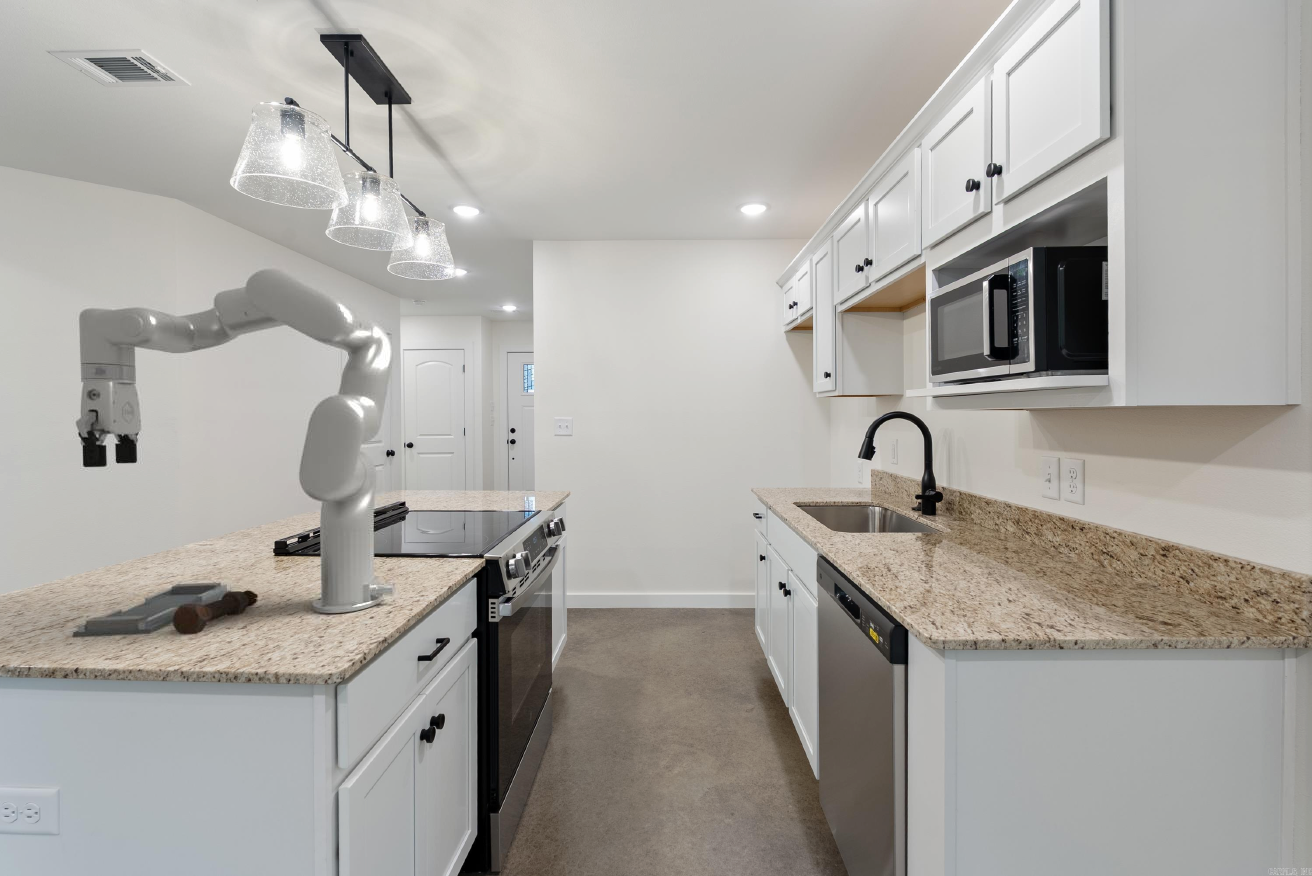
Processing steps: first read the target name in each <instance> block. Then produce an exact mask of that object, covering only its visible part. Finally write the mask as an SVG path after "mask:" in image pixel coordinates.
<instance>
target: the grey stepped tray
mask: <svg viewBox="0 0 1312 876" xmlns="http://www.w3.org/2000/svg"><path fill="white" fill-rule="evenodd" d="M231 591H232V590H228V589H227V591H224V592H222V593H220V594H218V595H216V596H214V597H212V598H210V599H208V600H205V601H203V602H197V596H199V595H201V594H187V595H171V596H168V597H166V598H164V599H161V600H159V601H157V602H154V603H152V604H145V602H143V603H139V605H136V606H133V607H131V608H128V609H126V610H124V611H123V610H122V616H141V615H147V617H148V618H150V617H152V616H154V615H157V614H159V613H161V612H163V611H165V610H168V609H170V608H177V609H178V608H179V607H180V606H181V605H184V604H202V606H203V605H206V604H209V603H212V602H214V601H217V600H220V599H221V598H222V597H223V596H224V594H225V593H227V592H231ZM171 624H173V616H172V617H170V618H167V619H165V620H163V621H161V622H159V623H157V624H155V625H153V626H151V627H149V628H146V629H126V630H103V631H85V632H78V629H77V630H75V631H73V632H72V637H73V638H80V637H99V636H102V637H103V636H122V635H125V636H126V635H143V634H144V635H146V634H152V633H155V632H156V631H158V630H160V629H162V628H164V627H166V626H169V625H171Z"/></svg>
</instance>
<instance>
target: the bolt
mask: <svg viewBox="0 0 1312 876" xmlns="http://www.w3.org/2000/svg"><path fill="white" fill-rule="evenodd" d="M258 597H259V595H258V593H255V592H254V591H252V590H245V591H241V590H233V591H232V590H231V592H227V593H225V594H224V596H223V597H222V598H221V599H220V600H217V601H214V602H212V603H209V604H206V605H203V606H202V604H184V605H181V606H180V607H179V608H178V609H177V610H176V612H175V613H174V615H173V623H172V626H173V628H174V629H175V630H176V632H177V633H178V634H181V635H197V634H199V633H201V632H203V630H204V628H205V627H206V625H207V623H210V622H212V621H214V620H217V619H220V618H222V617H223V618H224V617H225V616H239V615H242V614H244V612H245V611H246V610H247V608H249V607H252V606H254V605H255V604H256V603H257V602H258Z"/></svg>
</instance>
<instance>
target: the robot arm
mask: <svg viewBox="0 0 1312 876" xmlns="http://www.w3.org/2000/svg"><path fill="white" fill-rule="evenodd" d="M78 318H79V319H78V323H79V324H78V325H79V355H80V357H79V358H80V359H79V360H80V383H82V388H81V389H82V390H81V396H80V397H81V398H80V418H79V419H77V420H76V422H75V426H76V428H77V431H78V433H77V434H78V437H79V438H80V445H81V446H82V466H83V467H84V468H104V467H107V463H108V461H107V460H108V459H107V444H104V443H105V441H106V439H107V437H108V435H113V436H114V437H115V439H116V443H114V445H115V446H114V448H115V449H114V450H115V463H116V464H136V463H137V462H138V448H137V447H138V442H139V440H138V439H139V438H138V435H140V432H141V431H142V424H141V423H142V422H141V409H140V402H139V396H138V391H137V387H136V383H137V373H136V348H140V349H145V350H151V351H159V352H165V353H170V354H185V353H186V354H187V353H191V352H197V351H201V350H207V349H210V348H214V347H219V346H223V345H224V344H226V343H229V342H231V341H232V340H235V339H236V338H238V337H239V336H242V335H246V334H250V333H255V332H260V331H263V330H269V329H272V328H277V327H283V326H287V327H289V328H290V329H291V328H292V329H293V330H296V331H297V332H299V333H301V334H303V335H304V336H307V337H309V338H311V339H312V340H315V341H317V342H318V343H321V344H324V345H326V346H329V347H334V348H337V349H341V350H343V351H345V352H347V355H348V359H347V362H346V364H345V366H344V368H343V371H342V374H341V380H340V385H339V388H338V392H337V394H335V395H330V396H328V397H325V398H324V399H322V400H321V401H320V402H318V404H317V405H316V406H315V408H314V409H313V411H312V413H311V414H310V418H309V421H308V424H307V425H308V426H307V430H306V435H305V440H304V444H303V450H302V455H301V459H300V464H299V470H298V471H299V473H298V479H299V484H300V487H301V489H302V490H303V492H304V493H305V494H306V496H308V497H309V498H310V499H313V500H314V501H317V502H321V508H320V519H319V520H320V521H319V522H320V523H319V525H320V530H319V532H320V533H319V534H320V538H319V540H320V581H321V582H320V584H321V587H320V588H321V596H320V597H317V598H316V599H314V600H313V602H312V610H313V611H315V612H317V613H323V614H343V613H350V612H355V611H360V610H365V609H369V608H371V607H374V606H376V605H378V604H380V603H381V601H383V599H384V596H388V595H389V596H391V595H392V596H393V595H395V593H396V585H395V584H394V583H393V582H391V583H390V582H388V583H381V582H380V577H379V576H375V550H374V549H375V548H374V546H375V545H374V544H375V541H374V539H375V538H374V537H375V536H374V535H375V533H374V526H375V525H374V524H375V523H374V522H375V521H374V519H375V518H374V517H375V515H374V513H375V512H374V510H375V507H374V506H375V504H374V503H375V495H376V488H377V486H376V485H377V471H376V466H375V463H374V461H373V460H372V458H371V457H370V456H369V455H368V454H366V453H365V452H364V451H362V450H360V449H361V446H362V444H363V443H366V442H368V441H371V440H372V439H374V438H375V437H376V436H377V435H378V433H379V431H380V429H381V425H382V420H383V415H384V414H383V413H384V408H385V404H386V400H387V399H386V398H387V394H388V387H389V383H390V382H389V381H390V378H391V377H390V376H391V373H392V372H391V371H392V367H393V361H394V348H393V345H392V341H391V339H390V337H389V335H388V334H387V332H386V330H385V329H384V328H383V327H382V326H381V325H380V324H379V323H377V322H376V321H375V320H374V319H372V318H371V317H370V316H368V315H367V314H365V313H363V312H362V311H359V309H356V308H354V307H351V306H350V305H347V304H346V303H343V302H341V301H340V300H337V298H333V297H331V296H330V295H327V294H325V293H324V292H322V291H319V290H318V289H316V288H314V287H312V286H310V285H309V284H308V283H306V282H305V281H303V280H301V279H300V278H297V277H296V276H294V275H292V274H290V273H288V272H286V271H284V270H280V269H277V268H266V269H261V270H259V271H258V270H257V271H256V272H254V273H252V274H251V276H249V278H248V279H247V282H246V283H245V286H244V287H238V288H231V289H229V290H227V289H226V290H221V291H220V292H218V293H216V295H215V296H214V299H213V307H212V308H210V309H207V310H205V311H200V312H196V313H190V314H187V315H178V316H177V315H173V314H169V313H166V312H163V311H159V310H154V309H151V308H146V307H128V308H120V309H119V308H118V309H109V308H97V307H96V308H95V307H94V308H85V309H82V310H81V312H80V313H79V317H78Z"/></svg>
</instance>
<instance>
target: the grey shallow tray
mask: <svg viewBox="0 0 1312 876" xmlns="http://www.w3.org/2000/svg"><path fill="white" fill-rule="evenodd" d="M221 583H222V582H204V583H203V582H201V583H200V582H199V583H178V584H175V585H172V586H171V587H170V588H167V589H164V590H162V591H159V592H158V593H155V594H152V595H150V596H147V597H145V598H144V603H145V604H152V603H154V602H157V601H159V600H161V599H164V598H166V597H168V596H171V595H187V594H201V595H199V596H197V602H203V601H205V600H208V599H210V598H212V597H214V596H216V595H218V594H220V593H222V592H224V591H227V590H228V584H221ZM176 610H177V608H170V609H168V610H165V611H163V612H161V613H159V614H157V615H154V616H152V617H150V618H148V617H147V615H141V616H122V612H123V609H115V610H113V611H110V612H107V613H105V614H103V615H99V616H97V617H96V616H95V617H92V618H90V619H87V620H85V622H83V623H80V624H77V630H78V632H85V631H103V630H126V629H146V628H149V627H151V626H153V625H155V624H157V623H159V622H161V621H163V620H165V619H167V618H170V617H172V616H173V615H174V613H175V612H176Z"/></svg>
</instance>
